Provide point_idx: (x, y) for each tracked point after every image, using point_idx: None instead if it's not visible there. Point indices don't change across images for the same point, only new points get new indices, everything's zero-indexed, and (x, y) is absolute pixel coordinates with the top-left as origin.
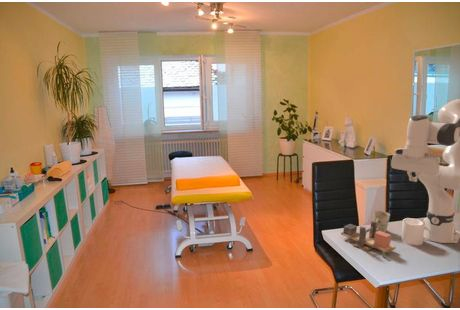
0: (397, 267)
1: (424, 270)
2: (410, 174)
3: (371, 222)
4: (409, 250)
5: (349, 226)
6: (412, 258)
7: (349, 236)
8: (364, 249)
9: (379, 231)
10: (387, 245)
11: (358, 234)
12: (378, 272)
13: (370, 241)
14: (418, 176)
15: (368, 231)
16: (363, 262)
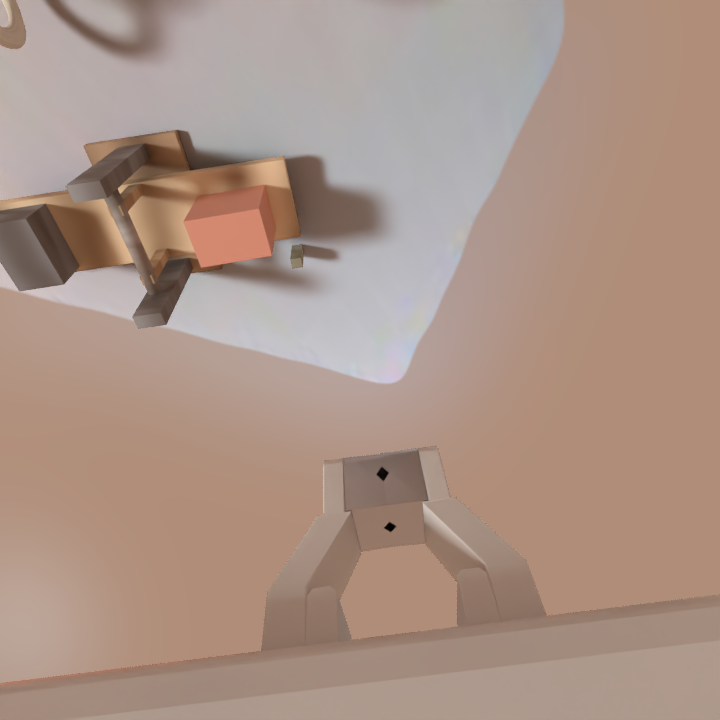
0: (385, 275)
1: (469, 205)
2: (332, 580)
3: (80, 199)
4: (316, 58)
5: (23, 262)
6: (379, 142)
7: (84, 269)
8: (205, 269)
9: (194, 230)
10: (271, 216)
11: (78, 216)
12: (365, 355)
13: (180, 229)
14: (481, 530)
15: (143, 247)
16: (287, 345)
